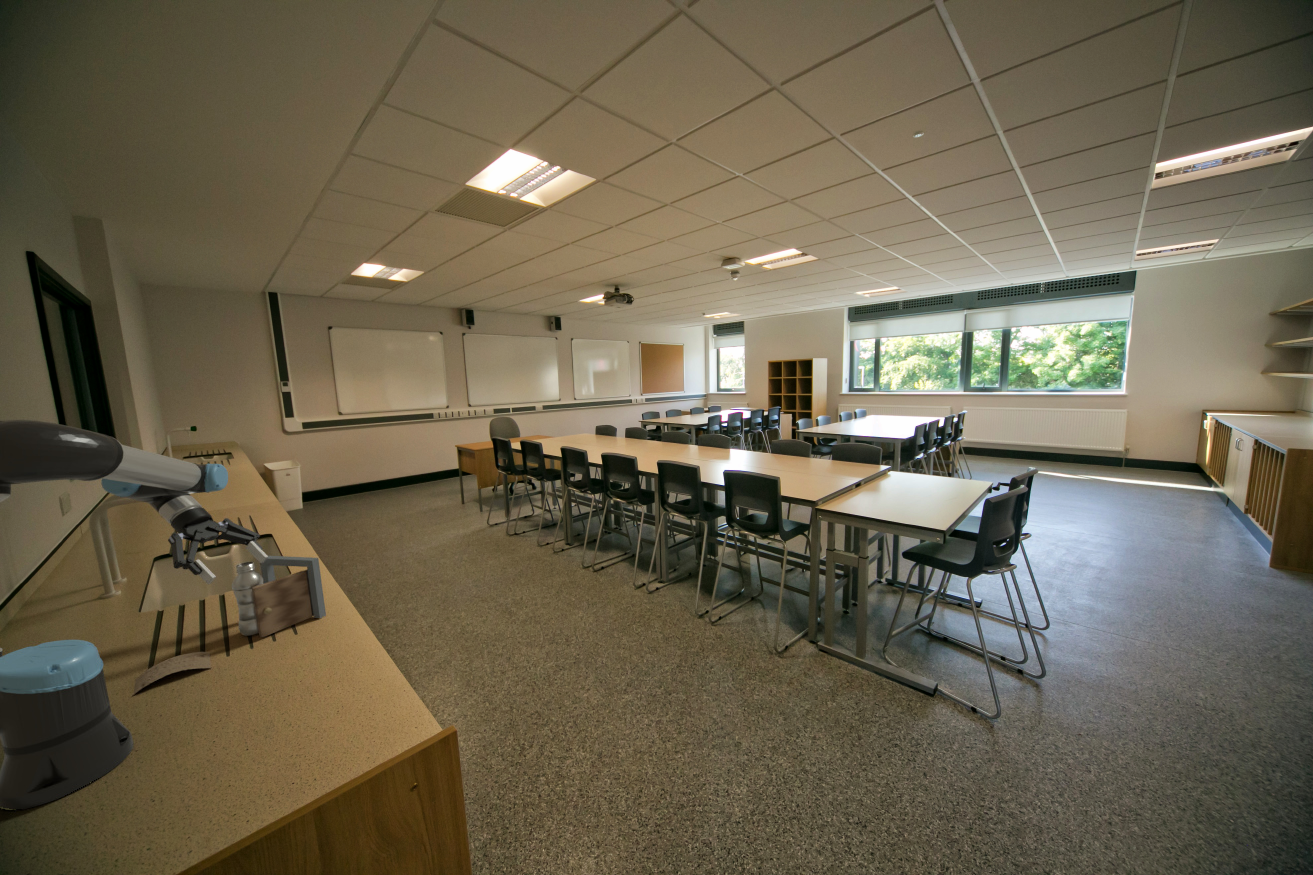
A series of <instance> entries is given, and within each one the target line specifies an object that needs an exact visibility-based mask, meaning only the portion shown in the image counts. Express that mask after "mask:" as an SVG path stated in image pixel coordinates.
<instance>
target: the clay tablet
mask: <svg viewBox="0 0 1313 875" xmlns="http://www.w3.org/2000/svg"><path fill="white" fill-rule="evenodd" d="M211 664H212V662H211V652H209V651H208V652H207V651H198V652H197V651H196V652H189V653H185V654H180V655H177V656H173V657H171V658H170V657H169V658H168V659H166V660H164V661H163V660H162V661H161V662H159V663H157V664H154V665H153V666H151V667H150V668H148V669H146V670H145V671H144V672H143V673H142V674H140V675H139V676H137V677H136V678H135V680H134V681H135V682H134V687H133V694H132V696H134V695H136V693H138V692H140V691H141V690H142V689H143V688H145V687H147V686H149V685H150V684H152V683H154V682H155V681H157V680H159V679H162V678H164V677H166V676H168V675H171V674H174V673H178V672H181V671H187V670H193V669H194V670H195V669H212V665H211Z"/></svg>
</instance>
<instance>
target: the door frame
mask: <svg viewBox="0 0 1313 875" xmlns="http://www.w3.org/2000/svg"><path fill="white" fill-rule="evenodd" d="M267 556H268V557H267V559H266V560H265V561H264V563H260V562H259V564H260V571H261V576H262V578H263V584H264V583H267V582H270V581H273V580H276V575H275V568H274V566H284V567H301V568H306V570H308V577H309V585H310V592H311V599H312V606H313V613H314V616H313V619H314V618H321V619H322V617H323V616H324V617H326V616H327V612H326V604H325V598H324V590H323V582H322V576H321V569H320V560H319V557H312V556H311V557H310V556H309V557H307V556H287V555H283V556H282V555H267ZM324 617H323V618H324Z"/></svg>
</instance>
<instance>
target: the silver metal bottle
mask: <svg viewBox="0 0 1313 875" xmlns="http://www.w3.org/2000/svg"><path fill="white" fill-rule="evenodd" d="M235 568H236V569H235V570H236V571H235V573H236V574H237V575H236V576H235V577H234V579H233V581H232V583H231V589H232V591H233V594H234V595H233V596H234V597H235V599H236V603H237V608H238V630H239V632H240V634H241V635H243V636H245V637H247V636H254V635H257V634H258V635H259V631H258V624H257V618H256V612H255V605H254V599H253V593H252V588H253V587H255V586H258V585H261V584H263V578H262V574H260V573H259V572H257V571H255V569H256V566H255V563H254V561H246V562H242V563H238V564H236V566H235Z"/></svg>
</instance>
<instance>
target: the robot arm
mask: <svg viewBox="0 0 1313 875" xmlns="http://www.w3.org/2000/svg"><path fill="white" fill-rule="evenodd" d="M63 480H67V481H68V480H75V481H83V482H92V481H93V482H94V481H98V480H100V481H101V486H102V489H103V490H104V491H105V492H106V493H109V494H111V495H115V496H117V497H120V498H126V499H130V500H131V499H132V500H135V501H140V502H142V503H147V504H149V505H150V506H151V507H152V508H153V509H154V510H155V511H156V512H157V513H158V514H159V515H160V516H161V517H162V518H163V519H164V520H165V521H166V522H167V524H170V526H171V527H172V529H173V530H174V531H176V532H172V533H171V535H170V536H169V537H168V539H167V542H168V543H169V544H170V546H171V553H172V554H171V556H172V563H173V568H174V569H175V570H176V569H180V568H182V569H183V570H188V571H190V572H191V573H192V574H193V575H194V576H199V577H200V578H201V579H202V580H203V581H204V582H205V583H206V585H210V584H212V583H213V582H214V580H215V579H216V578H217V576H216V575H215V574H214V573H213V572H212V571H211V570H210V569H209V568H208V567H207V566H206V564H204V563H203V561H201V560H200V558H199V559H198V558H197V559H196V555H197V551H198V548H199V545H200V544H205V543H207V542H211V541H215V540H219V541H220V540H224V541H227V542H232V543H235V544H241V545H244V546H246V547H245V549H246V550H247V551H248V552H249V553H250V554H251V555H252V556H253V557H254V558H255V559H256V560H257V561H258V562H259V564H260V563H264V561H265V560H266V559H267V557H268V556H269V555H267V554H266V552H264V551H263V546H261V545H260V544H259V542H257V541H258V540H259V538H260V537H261V533H260V534H259V533H257V532H256V531H253V530H250V529H248V528H246V527H244V526H241V525H239V524H237V523H235V522H233V521H232V520H231V519H230V518H229V517H227V518H224V519H223V520H222V521H219V522H217V521H215V520H214V519H213V516H212V515H211V514H210V513H209V512H208V511H207V509H205V507H203V505H202V504H201V503H199V501H197V499H196V498H194V497H193V495H191V494H200V493H201V494H203V493H206V494H207V493H208V494H209V493H211V492H220V491H222V490H224V489H225V488H226V487H227V485H228V483H229V473H228V470H227V468H226V467H225V466H224V465H223V464H221V463H204V464H202V463H201V464H200V463H195V462H191V461H186V460H183V459H179V458H175V457H170V456H167V455H163V454H159V453H157V452H156V453H155V452H151V451H149V450H144V449H140V448H136V447H132V446H129V445H125V444H122V443H121V442H120V441H119V440H118V439H116V438H114V437H113V436H109V435H108V434H104V433H100V432H97V431H96V432H95V431H93V430H92V431H91V430H87V429H84V428H83V429H82V428H79V427H75V426H70V425H64V424H59V423H55V422H49V421H48V422H47V421H40V420H34V419H32V420H31V419H9V420H8V419H7V420H0V503H2V502H4V501H6V500H7V499H8V498H10V497H11V493H12V485H20V484H28V483H38V482H51V481H63ZM220 533H221V534H220ZM183 540H186V541H190V542H189V544H188V550H187V553H186V557H185V555H184V553H185V552H184V544H183ZM195 559H196V560H195ZM103 668H104V661H103V659H102V658H101V657H100V654H99V650H98V648H97V646H95V645H94V643H92V642H90V641H87V640H83V639H61V640H54V641H47V642H42V643H39V644H37V645H35V646H33V645H32V646H31V645H30V646H27V647H24V648H21V649H17V650H14V651H11V652H9V653H6V654H4V655H3V648H2V647H0V742H1V746H2V748H3V753H4V757H3V761H2V764H1V768H0V807H3V808H9V809H22V810H26V809H31V808H35V807H39V806H41V805H45V804H47V803H50V802H53V801H55V800H58V799H60V798H64V797H65V795H66V796H68V795H70V794H72V793H74V792H76V791H78V790H80V789H82V788H84V787H86V786H88V785H89V783H90V782H92V781H93V782H95V781H97V780H99V779H100V778H102V777H103V776H105V775H106V774H108V773H110V771H112V770H113V769H115V768H116V767H117V766H119V765H120V764H121V763H123V761H124V760H126V758H127V757H128V756H129V755H130V753H131V752H132V751H133V748H134V742H133V737H132V733H131V730H129V729H128V728H127V727H126V726H125V725H124V724H123V723H122V722H121V721H120V719H119V718H118V717H116V715H114V714H113V712H112V708H111V704H110V698H109V693H108V688H107V683H106V678H105V674H104V669H103ZM98 778H99V779H98ZM96 779H97V780H96ZM94 780H95V781H94ZM93 782H92V783H93ZM87 784H88V785H87ZM90 784H91V783H90ZM85 785H86V786H85ZM83 786H84V787H83ZM81 787H82V788H81ZM79 788H80V789H79ZM77 789H78V790H77ZM75 790H76V791H75ZM73 791H74V792H73ZM71 792H72V793H71ZM67 794H68V795H67Z"/></svg>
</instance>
